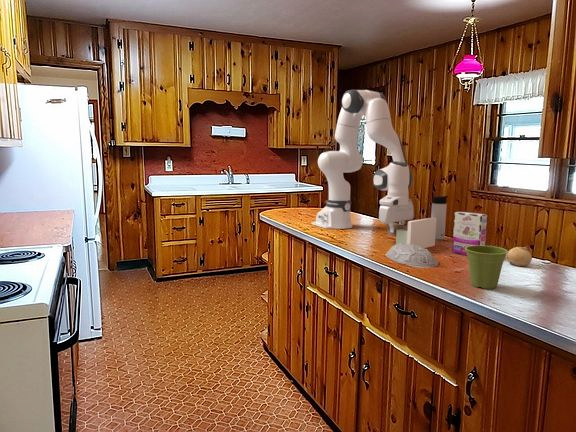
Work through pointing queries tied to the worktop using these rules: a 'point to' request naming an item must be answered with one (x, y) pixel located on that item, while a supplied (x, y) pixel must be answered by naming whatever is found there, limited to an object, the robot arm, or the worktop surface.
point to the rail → (398, 227)
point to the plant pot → (485, 265)
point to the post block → (418, 233)
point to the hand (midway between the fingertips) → (396, 231)
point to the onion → (519, 256)
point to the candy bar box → (468, 231)
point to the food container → (412, 255)
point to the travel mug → (439, 216)
